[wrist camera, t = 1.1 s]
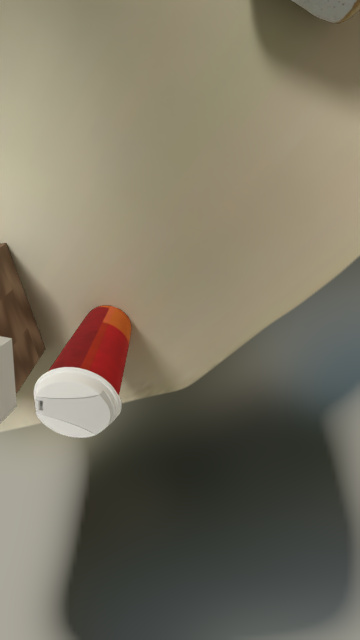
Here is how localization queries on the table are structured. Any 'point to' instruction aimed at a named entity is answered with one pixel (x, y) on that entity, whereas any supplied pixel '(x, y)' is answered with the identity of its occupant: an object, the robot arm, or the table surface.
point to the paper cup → (86, 376)
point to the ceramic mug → (330, 9)
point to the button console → (17, 320)
